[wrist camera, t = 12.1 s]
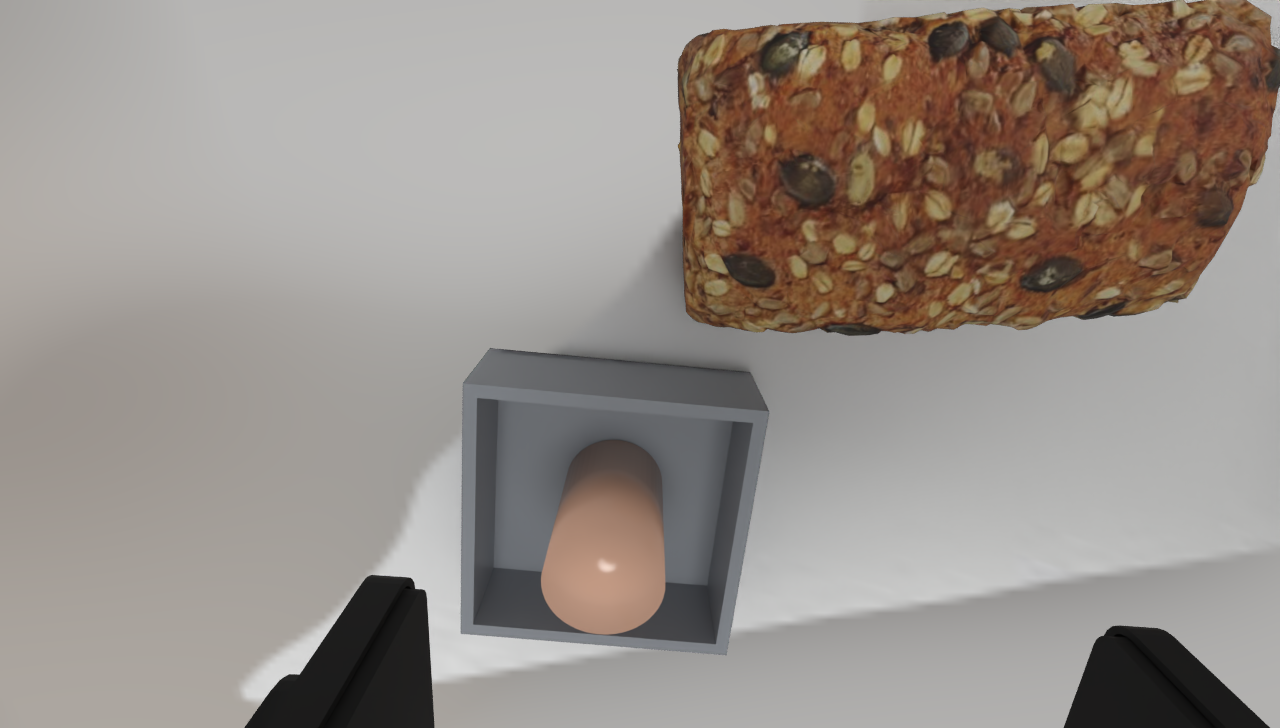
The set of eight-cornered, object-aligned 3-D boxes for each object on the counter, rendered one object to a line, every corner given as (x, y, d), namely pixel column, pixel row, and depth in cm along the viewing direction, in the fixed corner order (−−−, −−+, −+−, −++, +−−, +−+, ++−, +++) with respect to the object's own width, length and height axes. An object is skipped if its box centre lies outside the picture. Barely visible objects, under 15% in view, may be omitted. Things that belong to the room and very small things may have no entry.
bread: (1107, 37, 27) (1358, -24, 18) (1062, 284, 30) (1253, 344, 21) (670, 54, 27) (684, 3, 18) (674, 297, 31) (688, 362, 21)
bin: (750, 372, 32) (769, 411, 27) (715, 588, 36) (726, 655, 31) (490, 348, 31) (462, 383, 27) (485, 569, 35) (460, 633, 31)
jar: (666, 444, 32) (671, 536, 25) (657, 528, 34) (659, 638, 26) (568, 436, 32) (542, 526, 25) (564, 520, 34) (539, 629, 26)
